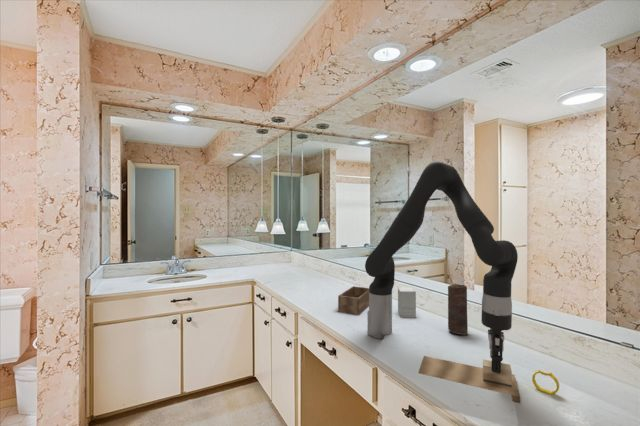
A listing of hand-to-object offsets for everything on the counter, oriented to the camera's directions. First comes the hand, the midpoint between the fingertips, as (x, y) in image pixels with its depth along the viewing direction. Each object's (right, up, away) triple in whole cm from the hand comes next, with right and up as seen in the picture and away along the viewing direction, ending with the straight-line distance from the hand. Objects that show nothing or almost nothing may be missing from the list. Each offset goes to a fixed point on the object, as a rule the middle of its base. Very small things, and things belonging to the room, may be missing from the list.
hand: (495, 365), depth 88 cm
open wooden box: (-32, -5, +70) cm, 78 cm away
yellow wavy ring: (+13, -6, -3) cm, 14 cm away
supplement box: (-9, -6, +59) cm, 60 cm away
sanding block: (0, -5, 0) cm, 5 cm away
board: (-7, -6, +4) cm, 10 cm away
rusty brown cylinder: (+6, -6, +37) cm, 38 cm away
